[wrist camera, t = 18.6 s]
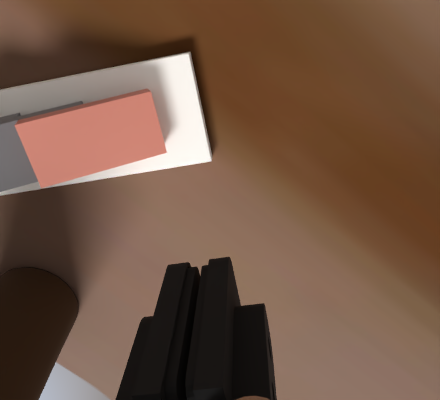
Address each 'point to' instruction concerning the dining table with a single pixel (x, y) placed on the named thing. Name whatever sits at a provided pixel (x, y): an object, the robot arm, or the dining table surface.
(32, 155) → the red domino
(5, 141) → the domino
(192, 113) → the board
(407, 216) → the dining table surface
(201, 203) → the dining table surface
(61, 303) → the olive oil
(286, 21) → the dining table surface
